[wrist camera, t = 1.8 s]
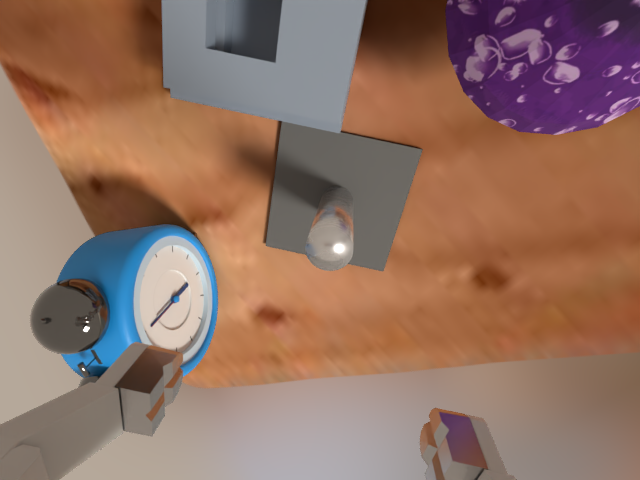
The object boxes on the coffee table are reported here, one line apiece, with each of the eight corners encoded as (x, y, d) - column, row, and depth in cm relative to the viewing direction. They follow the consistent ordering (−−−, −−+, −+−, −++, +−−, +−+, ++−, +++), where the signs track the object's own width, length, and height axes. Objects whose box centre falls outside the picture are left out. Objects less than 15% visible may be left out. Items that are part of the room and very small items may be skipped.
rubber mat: (421, 149, 26) (422, 149, 26) (382, 269, 31) (383, 271, 31) (282, 119, 26) (282, 119, 26) (266, 244, 32) (265, 245, 31)
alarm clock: (231, 312, 36) (156, 444, 22) (182, 316, 37) (81, 445, 23) (194, 203, 30) (65, 286, 17) (138, 211, 31) (-27, 296, 18)
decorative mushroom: (453, -106, 20) (670, -552, 6) (642, -57, 20) (1262, -392, 6) (391, 102, 25) (435, 105, 12) (541, 140, 25) (761, 188, 12)
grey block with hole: (378, -49, 21) (386, -101, 16) (340, 131, 26) (337, 140, 21) (179, -90, 22) (120, -155, 16) (180, 97, 27) (135, 97, 21)
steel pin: (356, 189, 28) (358, 233, 19) (349, 220, 29) (347, 275, 20) (324, 182, 28) (309, 222, 19) (317, 213, 29) (301, 265, 20)
